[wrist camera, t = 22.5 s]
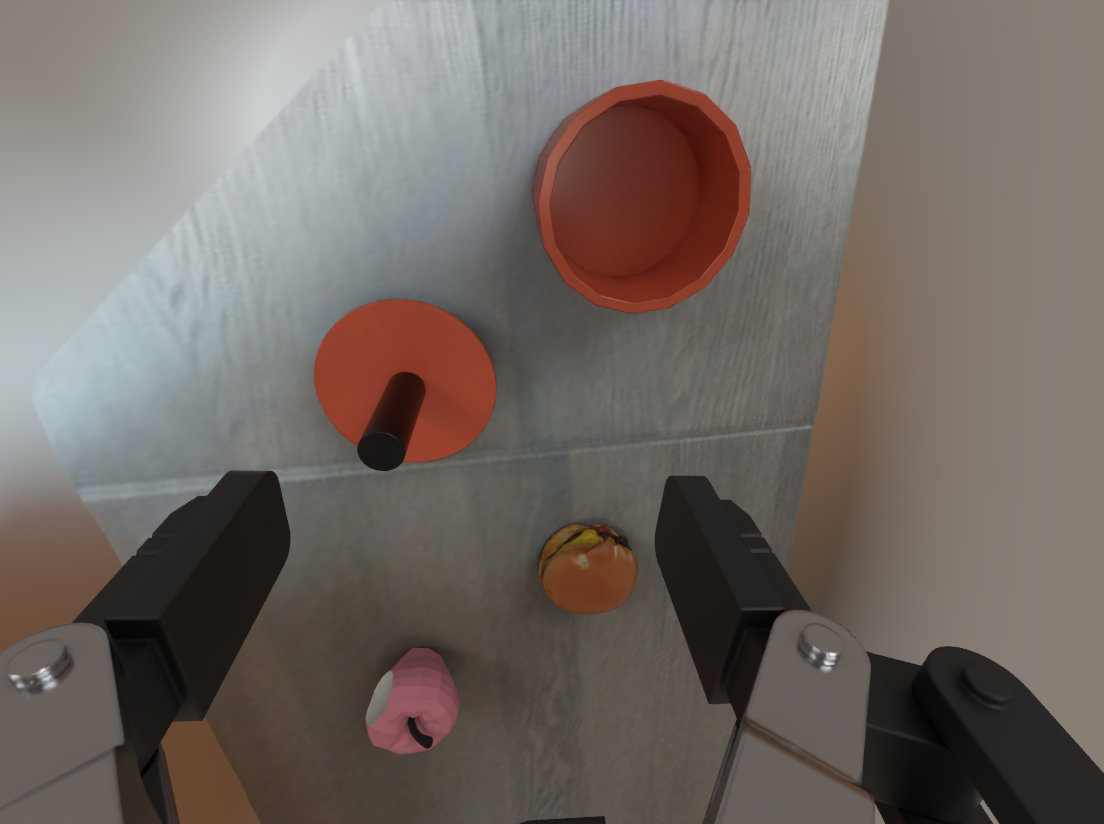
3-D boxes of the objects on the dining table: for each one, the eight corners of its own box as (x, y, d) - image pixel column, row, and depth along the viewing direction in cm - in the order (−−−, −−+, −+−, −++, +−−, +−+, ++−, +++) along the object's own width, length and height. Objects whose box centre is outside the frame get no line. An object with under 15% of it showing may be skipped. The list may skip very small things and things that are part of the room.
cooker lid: (289, 401, 39) (224, 477, 30) (372, 258, 35) (325, 297, 26) (439, 480, 44) (422, 567, 35) (530, 362, 40) (537, 426, 31)
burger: (574, 602, 55) (580, 639, 51) (520, 553, 51) (521, 589, 47) (651, 556, 53) (663, 591, 49) (599, 501, 49) (608, 534, 45)
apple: (416, 618, 54) (398, 710, 45) (479, 651, 57) (474, 743, 49) (364, 665, 57) (338, 760, 48) (427, 694, 60) (414, 788, 51)
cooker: (498, 216, 36) (496, 232, 30) (609, 47, 32) (635, 22, 26) (629, 314, 40) (653, 348, 34) (741, 176, 36) (794, 183, 30)
